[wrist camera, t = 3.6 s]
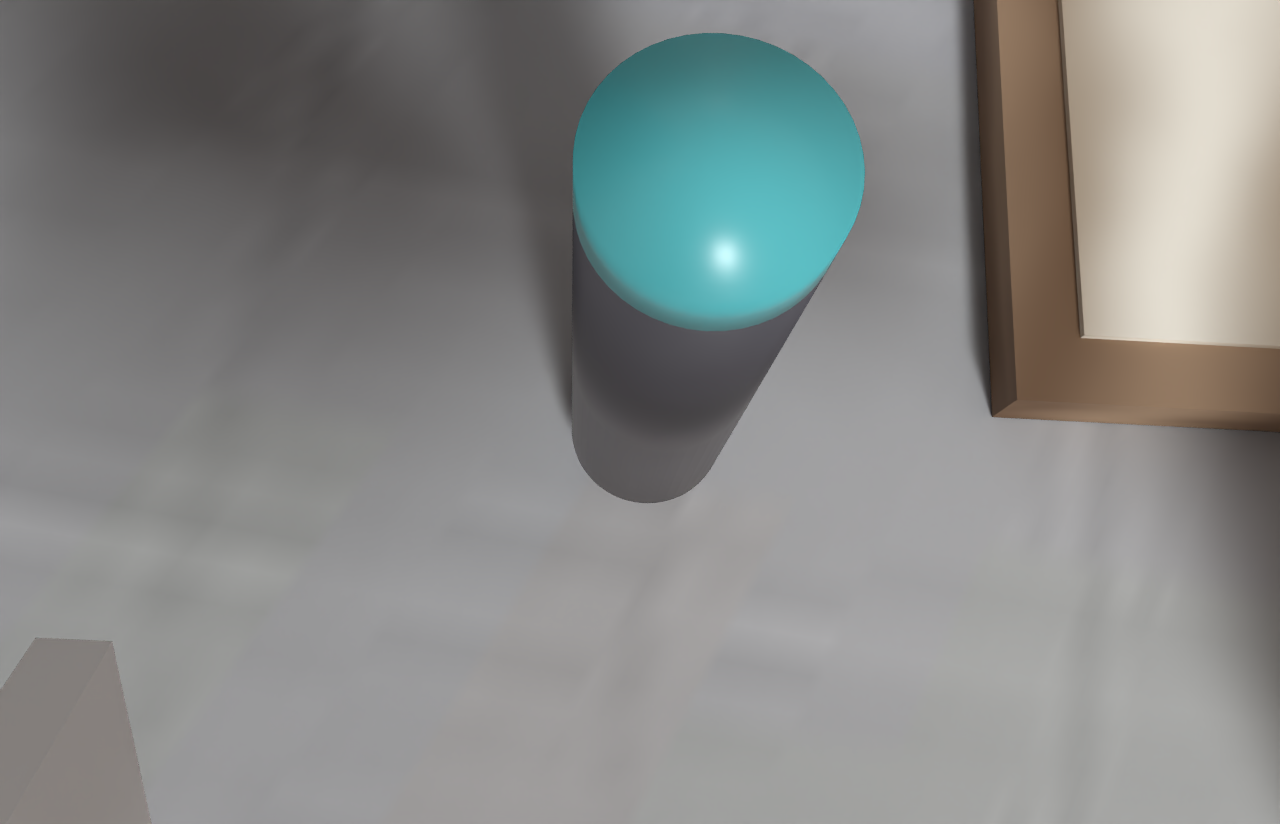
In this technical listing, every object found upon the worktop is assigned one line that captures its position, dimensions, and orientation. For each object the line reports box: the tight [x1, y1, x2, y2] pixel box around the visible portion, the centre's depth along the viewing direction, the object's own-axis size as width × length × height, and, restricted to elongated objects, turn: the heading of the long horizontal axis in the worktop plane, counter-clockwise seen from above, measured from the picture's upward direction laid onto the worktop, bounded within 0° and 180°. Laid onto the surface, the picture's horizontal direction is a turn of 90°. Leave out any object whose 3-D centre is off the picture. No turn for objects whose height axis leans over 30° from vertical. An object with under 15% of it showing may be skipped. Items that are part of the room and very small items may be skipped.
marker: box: [572, 33, 865, 503], centre depth 19 cm, size 3×3×13 cm
